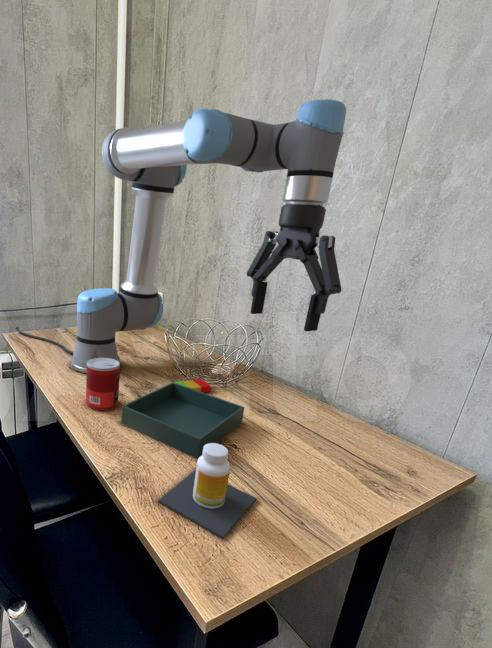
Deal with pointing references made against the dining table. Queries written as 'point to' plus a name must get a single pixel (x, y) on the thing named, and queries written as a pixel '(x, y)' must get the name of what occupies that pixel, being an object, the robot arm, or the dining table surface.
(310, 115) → the robot arm
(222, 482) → the supplement bottle
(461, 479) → the dining table surface
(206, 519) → the mat
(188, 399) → the dark green tray
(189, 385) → the popsicle
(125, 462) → the dining table surface
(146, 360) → the dining table surface
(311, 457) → the dining table surface
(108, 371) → the canned food
